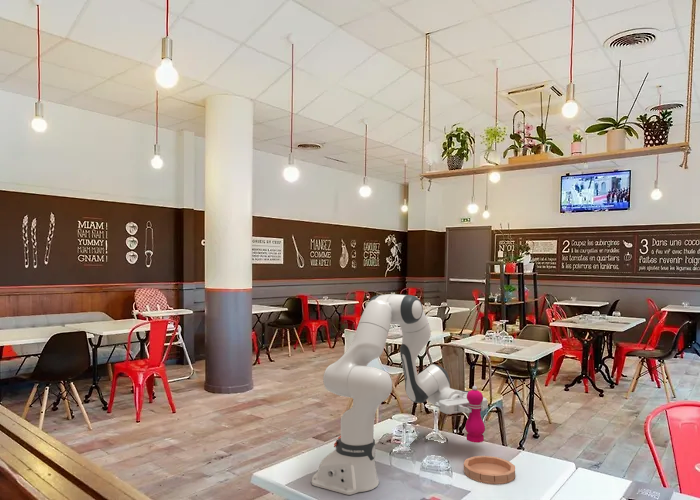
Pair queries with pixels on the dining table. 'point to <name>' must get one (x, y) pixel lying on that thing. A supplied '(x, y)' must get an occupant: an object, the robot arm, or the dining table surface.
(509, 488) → the dining table surface
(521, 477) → the dining table surface
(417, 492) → the dining table surface
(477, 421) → the pepper mill
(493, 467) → the round tray
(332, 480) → the robot arm
